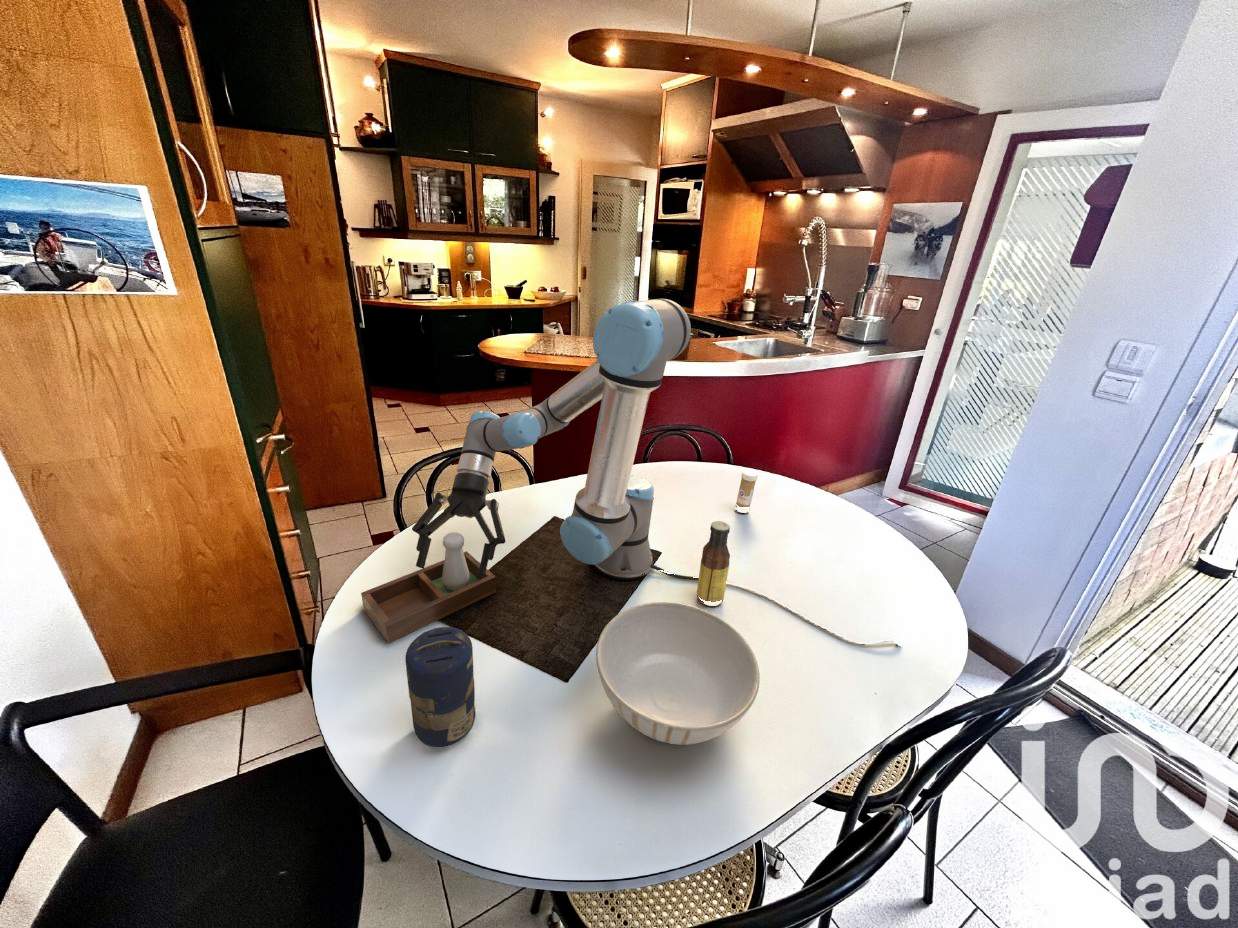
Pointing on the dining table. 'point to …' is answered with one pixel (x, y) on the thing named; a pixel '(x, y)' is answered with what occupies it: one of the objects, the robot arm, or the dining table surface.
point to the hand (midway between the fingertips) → (450, 571)
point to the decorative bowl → (676, 671)
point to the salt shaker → (454, 563)
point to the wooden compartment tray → (423, 598)
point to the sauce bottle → (714, 564)
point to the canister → (441, 686)
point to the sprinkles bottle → (746, 488)
